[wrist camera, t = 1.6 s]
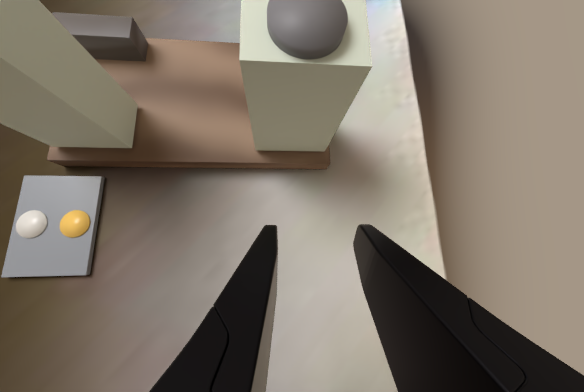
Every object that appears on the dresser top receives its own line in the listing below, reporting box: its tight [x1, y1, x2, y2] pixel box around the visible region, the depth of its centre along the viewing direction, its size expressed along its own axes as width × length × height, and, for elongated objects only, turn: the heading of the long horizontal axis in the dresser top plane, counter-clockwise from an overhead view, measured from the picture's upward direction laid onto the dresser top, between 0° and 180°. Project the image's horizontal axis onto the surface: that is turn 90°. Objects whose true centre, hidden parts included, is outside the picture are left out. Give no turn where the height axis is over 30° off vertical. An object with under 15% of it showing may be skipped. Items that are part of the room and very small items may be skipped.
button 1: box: [239, 0, 372, 152], centre depth 15 cm, size 4×6×11 cm, turn 91°
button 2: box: [0, 0, 138, 148], centre depth 14 cm, size 4×6×11 cm, turn 91°
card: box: [1, 176, 105, 277], centre depth 19 cm, size 8×6×1 cm
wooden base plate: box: [47, 12, 330, 169], centre depth 20 cm, size 12×23×4 cm, turn 91°
